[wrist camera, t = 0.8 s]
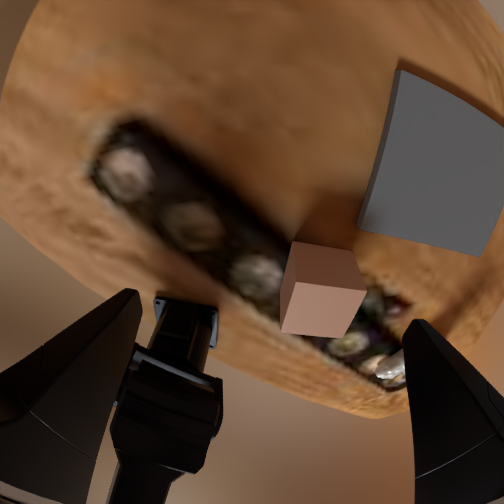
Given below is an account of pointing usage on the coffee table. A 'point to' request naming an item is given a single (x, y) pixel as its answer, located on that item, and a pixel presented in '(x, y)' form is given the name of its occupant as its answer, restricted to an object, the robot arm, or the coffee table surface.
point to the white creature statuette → (391, 366)
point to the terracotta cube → (320, 291)
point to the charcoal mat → (435, 170)
